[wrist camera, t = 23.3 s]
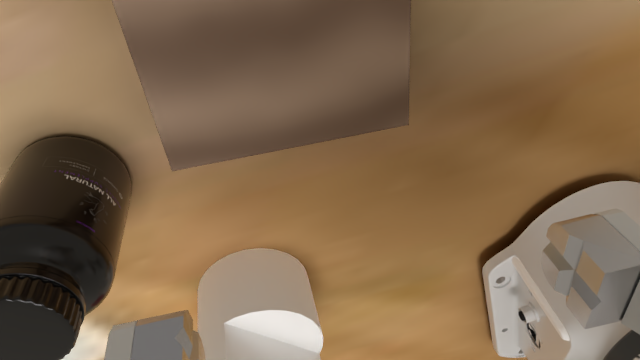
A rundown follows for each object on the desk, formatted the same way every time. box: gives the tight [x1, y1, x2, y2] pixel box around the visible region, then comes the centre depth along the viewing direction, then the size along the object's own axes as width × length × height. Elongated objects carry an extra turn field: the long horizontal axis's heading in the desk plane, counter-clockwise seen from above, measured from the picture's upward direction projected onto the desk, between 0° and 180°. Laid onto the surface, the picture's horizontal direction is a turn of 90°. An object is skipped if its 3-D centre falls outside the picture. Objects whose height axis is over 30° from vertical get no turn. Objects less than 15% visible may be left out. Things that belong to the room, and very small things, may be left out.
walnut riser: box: [112, 0, 411, 171], centre depth 25 cm, size 14×14×4 cm
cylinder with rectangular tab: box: [198, 248, 323, 360], centre depth 35 cm, size 9×9×12 cm
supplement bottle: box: [0, 136, 131, 360], centre depth 25 cm, size 7×7×12 cm
